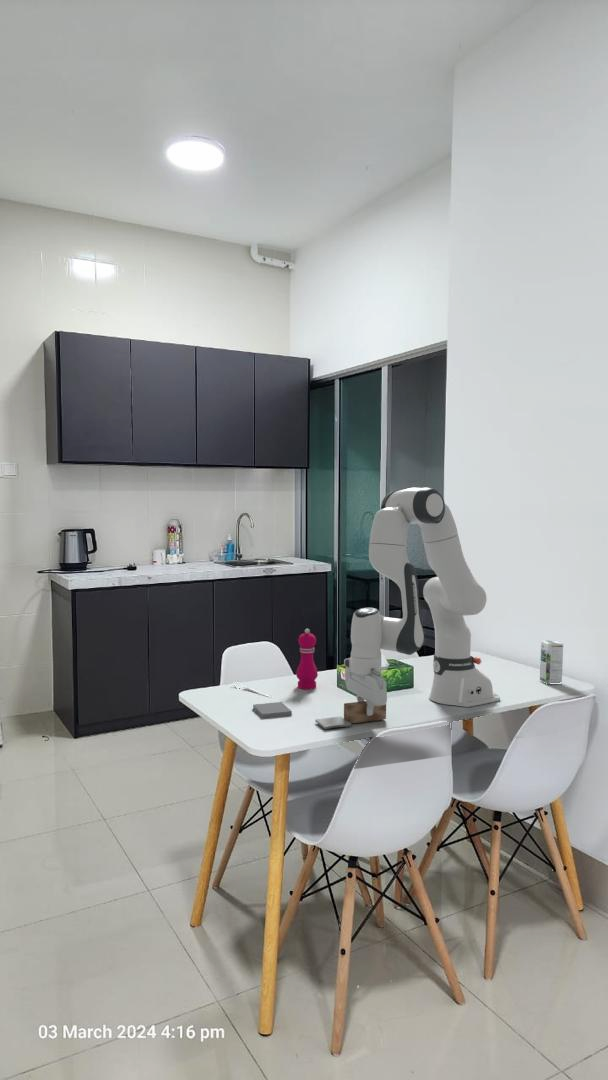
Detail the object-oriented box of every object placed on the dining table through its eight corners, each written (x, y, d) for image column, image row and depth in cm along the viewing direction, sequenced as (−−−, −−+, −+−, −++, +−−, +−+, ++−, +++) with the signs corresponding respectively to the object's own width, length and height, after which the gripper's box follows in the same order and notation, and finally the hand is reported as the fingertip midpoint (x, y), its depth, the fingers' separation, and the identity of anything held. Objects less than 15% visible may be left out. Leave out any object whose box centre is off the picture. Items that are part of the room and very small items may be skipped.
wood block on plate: (378, 714, 216) (378, 697, 216) (389, 721, 210) (389, 704, 209) (315, 721, 209) (315, 704, 209) (324, 728, 203) (324, 711, 202)
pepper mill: (317, 689, 245) (318, 630, 243) (296, 689, 245) (296, 630, 243) (317, 684, 252) (317, 626, 251) (296, 684, 252) (296, 626, 251)
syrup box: (538, 681, 258) (539, 640, 257) (554, 680, 259) (555, 639, 258) (546, 685, 252) (547, 643, 251) (562, 684, 253) (563, 643, 252)
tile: (281, 701, 226) (253, 704, 223) (291, 711, 216) (262, 714, 213) (281, 707, 226) (253, 710, 223) (291, 716, 216) (262, 720, 213)
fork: (269, 701, 234) (269, 695, 234) (230, 687, 248) (230, 682, 248) (277, 699, 236) (277, 693, 236) (238, 685, 250) (238, 680, 250)
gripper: (392, 672, 201) (392, 722, 202) (360, 657, 220) (360, 702, 221) (372, 674, 199) (371, 724, 200) (341, 658, 218) (341, 704, 219)
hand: (365, 712), depth 211 cm, fingers closed on wood block on plate, 3 cm apart
